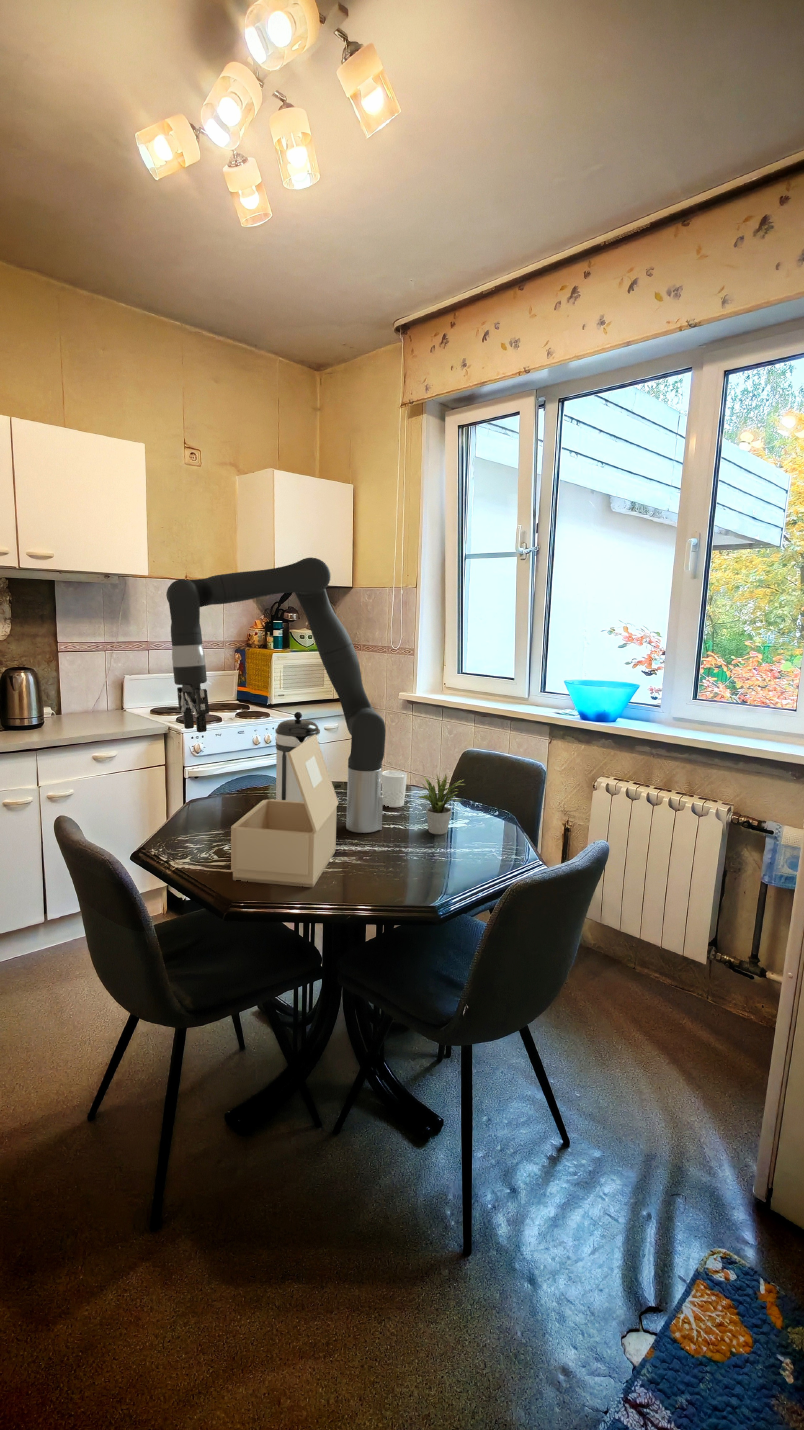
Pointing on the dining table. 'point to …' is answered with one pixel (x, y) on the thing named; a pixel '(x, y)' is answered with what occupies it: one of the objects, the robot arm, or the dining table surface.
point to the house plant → (439, 805)
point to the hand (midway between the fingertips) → (195, 730)
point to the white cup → (393, 788)
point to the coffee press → (287, 740)
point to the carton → (281, 844)
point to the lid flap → (313, 781)
